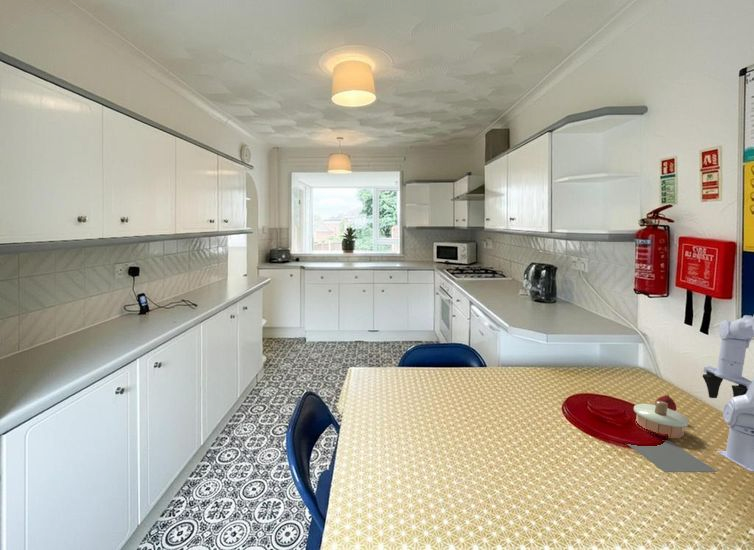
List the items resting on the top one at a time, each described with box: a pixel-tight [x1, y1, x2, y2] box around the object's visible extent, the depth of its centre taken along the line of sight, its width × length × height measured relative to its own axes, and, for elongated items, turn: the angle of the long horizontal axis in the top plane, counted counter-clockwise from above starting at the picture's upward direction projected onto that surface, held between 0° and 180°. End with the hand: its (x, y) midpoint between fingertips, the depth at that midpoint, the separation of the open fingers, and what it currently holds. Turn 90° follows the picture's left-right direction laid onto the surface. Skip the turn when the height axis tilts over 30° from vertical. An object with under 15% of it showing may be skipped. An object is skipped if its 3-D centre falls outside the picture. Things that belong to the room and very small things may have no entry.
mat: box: [626, 440, 718, 473], centre depth 106 cm, size 15×15×1 cm
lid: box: [633, 400, 690, 428], centre depth 122 cm, size 14×14×4 cm
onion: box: [654, 393, 677, 412], centre depth 132 cm, size 6×6×8 cm
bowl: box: [635, 413, 686, 439], centre depth 122 cm, size 12×12×4 cm
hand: (724, 402), depth 120 cm, fingers open, 7 cm apart
